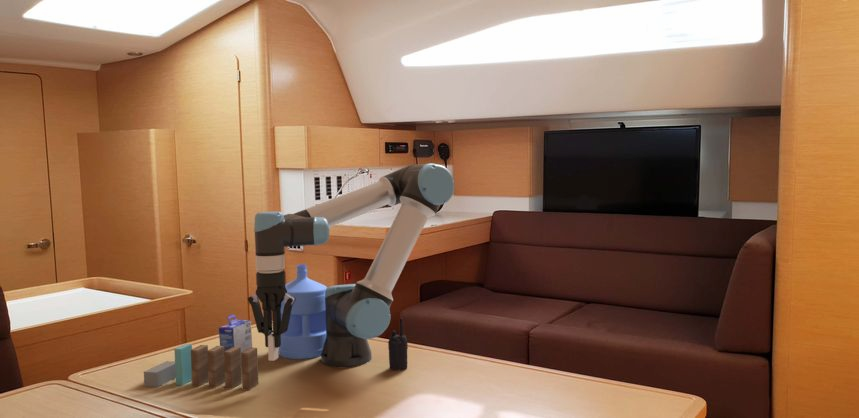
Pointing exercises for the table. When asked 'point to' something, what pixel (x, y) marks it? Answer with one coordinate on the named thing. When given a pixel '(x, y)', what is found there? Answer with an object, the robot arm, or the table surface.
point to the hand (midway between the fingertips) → (273, 359)
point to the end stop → (159, 374)
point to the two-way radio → (398, 350)
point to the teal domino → (183, 364)
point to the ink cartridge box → (236, 334)
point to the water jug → (304, 318)
